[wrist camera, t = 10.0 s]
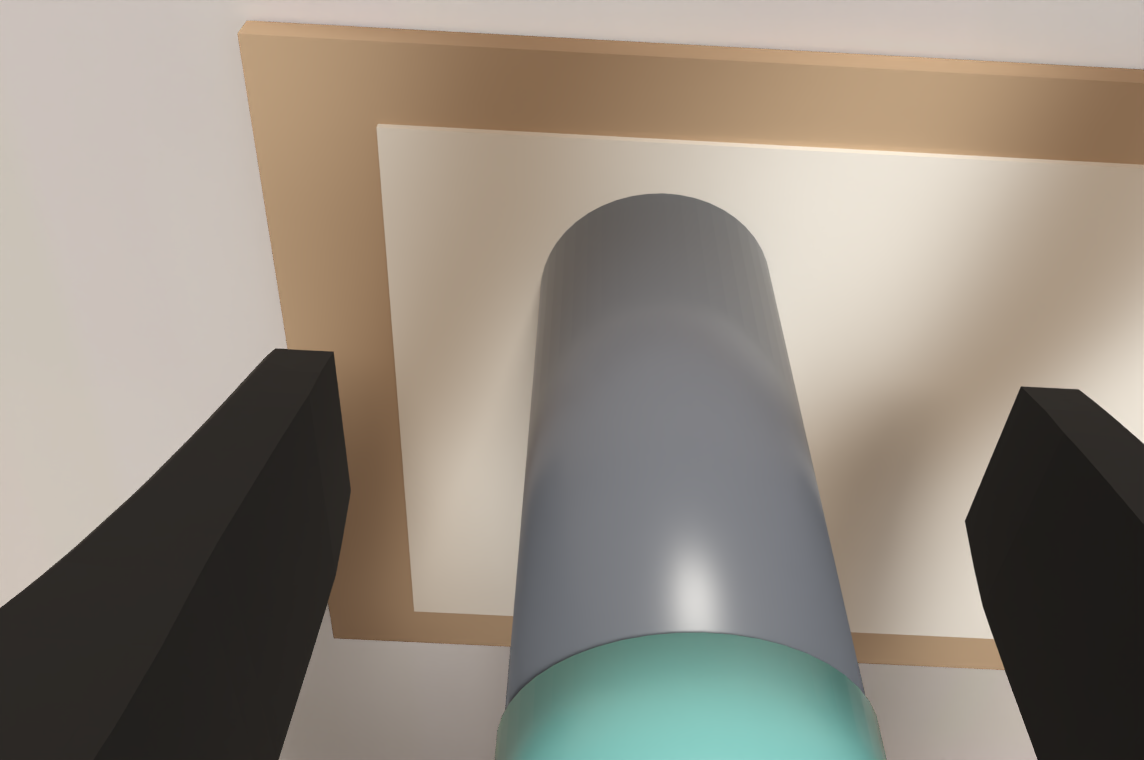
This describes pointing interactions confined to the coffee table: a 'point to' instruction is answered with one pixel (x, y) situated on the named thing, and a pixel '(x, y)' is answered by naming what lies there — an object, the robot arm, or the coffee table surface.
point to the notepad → (783, 231)
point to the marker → (673, 512)
